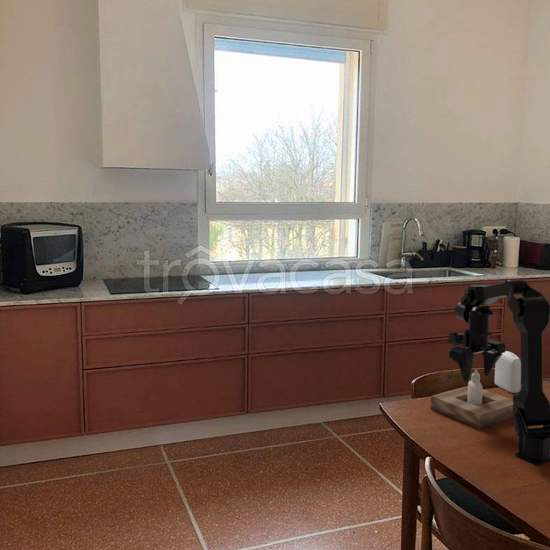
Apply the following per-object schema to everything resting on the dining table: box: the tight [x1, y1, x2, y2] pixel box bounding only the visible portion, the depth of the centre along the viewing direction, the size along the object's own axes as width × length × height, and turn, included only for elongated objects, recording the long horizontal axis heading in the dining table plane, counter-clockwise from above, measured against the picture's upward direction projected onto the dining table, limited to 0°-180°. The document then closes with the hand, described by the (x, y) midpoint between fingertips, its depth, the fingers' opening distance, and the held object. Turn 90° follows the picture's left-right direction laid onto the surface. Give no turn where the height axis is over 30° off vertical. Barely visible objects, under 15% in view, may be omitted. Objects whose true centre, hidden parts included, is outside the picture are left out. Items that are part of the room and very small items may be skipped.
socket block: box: [430, 385, 514, 429], centre depth 178 cm, size 18×18×4 cm
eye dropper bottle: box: [467, 369, 483, 406], centre depth 177 cm, size 4×6×12 cm
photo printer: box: [494, 350, 521, 394], centre depth 198 cm, size 10×4×12 cm, turn 13°
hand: (475, 378), depth 177 cm, fingers open, 9 cm apart
